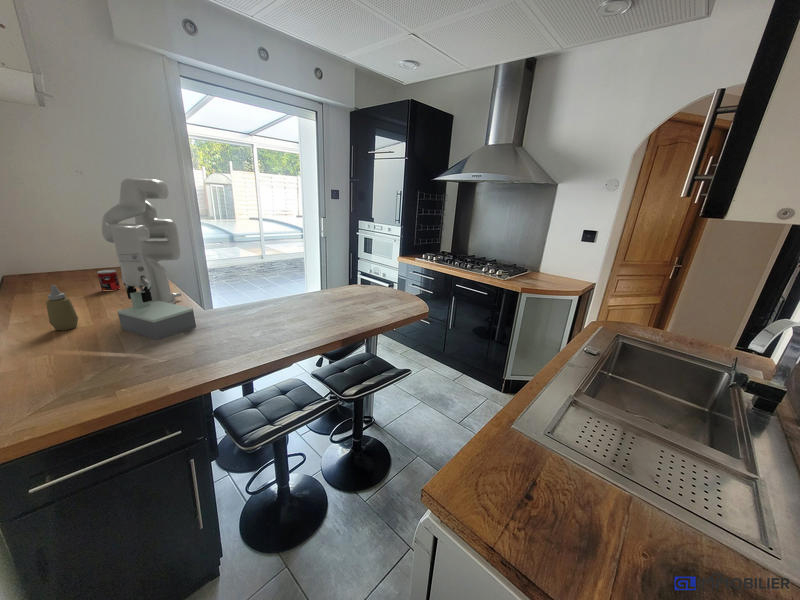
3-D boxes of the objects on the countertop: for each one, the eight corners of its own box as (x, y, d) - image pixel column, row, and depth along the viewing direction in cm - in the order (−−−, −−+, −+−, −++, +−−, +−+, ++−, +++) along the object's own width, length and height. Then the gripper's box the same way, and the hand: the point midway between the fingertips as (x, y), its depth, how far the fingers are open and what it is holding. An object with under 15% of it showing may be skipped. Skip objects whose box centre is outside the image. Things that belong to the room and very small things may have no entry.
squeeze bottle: (46, 333, 120) (31, 288, 115) (61, 325, 128) (48, 283, 122) (72, 331, 123) (58, 287, 117) (85, 323, 130) (73, 282, 125)
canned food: (98, 290, 174) (93, 271, 171) (114, 287, 182) (110, 269, 178) (108, 292, 172) (103, 273, 169) (123, 288, 180) (119, 270, 176)
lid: (159, 304, 135) (155, 287, 132) (193, 311, 127) (190, 294, 125) (118, 314, 121) (113, 296, 119) (154, 324, 114) (149, 304, 111)
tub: (162, 319, 137) (158, 302, 135) (196, 328, 129) (193, 310, 127) (122, 331, 124) (117, 313, 121) (158, 342, 116) (153, 322, 113)
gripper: (155, 258, 121) (163, 300, 126) (128, 254, 127) (137, 294, 132) (133, 261, 115) (143, 305, 120) (106, 257, 121) (116, 299, 126)
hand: (140, 299), depth 126 cm, fingers open, 8 cm apart
